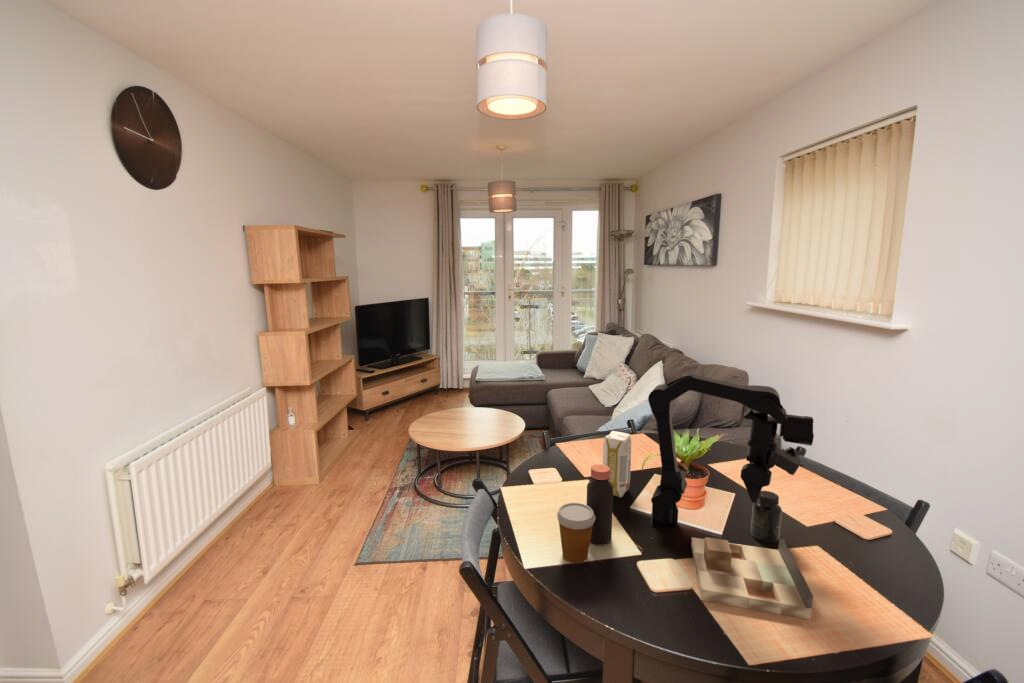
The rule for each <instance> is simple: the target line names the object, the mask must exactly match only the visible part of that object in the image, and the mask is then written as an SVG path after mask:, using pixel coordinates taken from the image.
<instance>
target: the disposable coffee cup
mask: <svg viewBox="0 0 1024 683" xmlns="http://www.w3.org/2000/svg"><path fill="white" fill-rule="evenodd" d="M556 518H557V521H558V525H559V533H560V542H561V551H562V557H563V558H564V560H566V562H568V563H571V564H582V563H584V562H586V561H587V560H588V558H589V551H590V546H591V545H590V544H591V542H590V540H591V534H592V527H593V524H594V522H595V515H594V512H593V510H592V509H591V508H590V507H589V506H587V504H584V503H581V502H568V503H564V504H563V505H561V506H560V507H559V508H558V511H557V513H556Z"/></svg>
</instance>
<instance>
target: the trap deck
mask: <svg viewBox="0 0 1024 683" xmlns="http://www.w3.org/2000/svg"><path fill="white" fill-rule="evenodd" d="M728 543H729V546H730V549H731V552H732V556H731V568H730V573H727V572H721V571H715V570H709V569H706V564H705V560H704V545H705V538H698V537H691V545H690V547H691V553H692V559H693V565H694V570H695V575H696V581H697V587H698V592H699V598H700V601H706V602H712V603H716V604H717V603H718V604H723V605H728V606H733V607H734V606H735V607H739V608H745V609H751V610H754V611H755V610H756V611H760V612H761V611H762V612H766V613H767V612H768V613H773V614H777V615H778V614H779V615H782V616H783V615H784V616H789V617H793V618H799V619H805V620H806V619H807V620H811V619H812V618H811V617H812V610H813V601H814V600H813V599H814V594H813V592H812V591H811V589H810V586H809V585H808V583H807V581H806V578H805V577H804V575H803V573H802V571H801V570H800V567H799V566H798V564H797V561H795V558H794V556H793V554H792V552H791V550H790V549H789V547H788V545H787V543H786V541H785V539H783V538H779V540H778V548H777V549H772V548H767V547H761V546H754V545H747V544H739V543H733V542H728Z"/></svg>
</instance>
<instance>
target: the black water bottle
mask: <svg viewBox="0 0 1024 683" xmlns="http://www.w3.org/2000/svg"><path fill="white" fill-rule="evenodd" d="M590 478H591V480H590V481H588V483H587V484H586V505H587V506H589V507H590V508H591V509H592V510H593V512H594V515H595V522H594V524H593V527H592V534H591V540H590V544H592V545H597V546H605V545H608V544H609V543H611V541H612V537H613V536H612V532H613V531H612V529H613V504H614V503H613V502H614V496H613V486H612V484H611V483H610V482H609V481H608V480H609V479H610V468H609V467H608V466H606V465H603V464H600V463H599V464H594V465H592V466H591V468H590Z"/></svg>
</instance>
